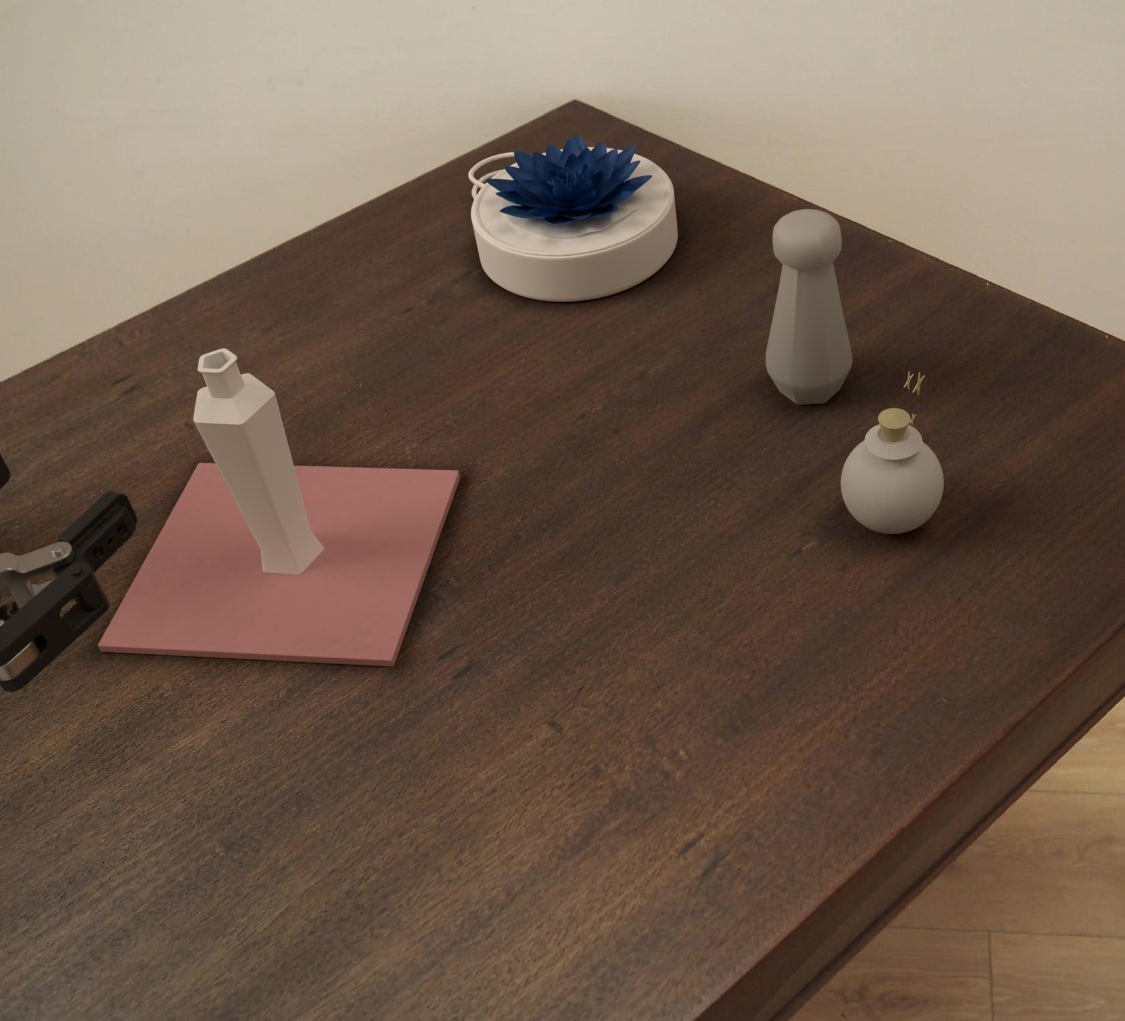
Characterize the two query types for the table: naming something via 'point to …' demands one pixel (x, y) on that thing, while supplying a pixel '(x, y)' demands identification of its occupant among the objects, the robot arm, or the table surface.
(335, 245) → the table surface
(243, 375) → the perfume bottle
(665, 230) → the box with blue lotus
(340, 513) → the cosmetics mat
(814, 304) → the salt shaker
